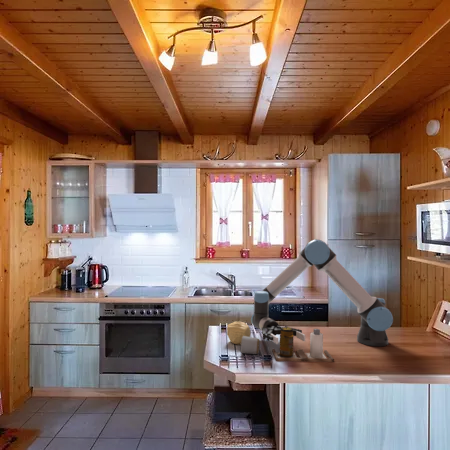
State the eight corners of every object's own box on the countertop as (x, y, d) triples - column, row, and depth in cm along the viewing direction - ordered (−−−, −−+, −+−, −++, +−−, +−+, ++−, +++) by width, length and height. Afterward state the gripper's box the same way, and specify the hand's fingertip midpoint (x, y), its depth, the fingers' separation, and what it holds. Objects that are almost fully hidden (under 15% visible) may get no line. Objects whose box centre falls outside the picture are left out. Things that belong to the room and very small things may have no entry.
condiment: (290, 352, 165) (291, 326, 165) (298, 358, 157) (298, 331, 157) (275, 353, 163) (276, 326, 163) (282, 359, 155) (282, 332, 155)
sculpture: (224, 344, 178) (224, 322, 178) (232, 337, 189) (233, 317, 190) (245, 347, 174) (246, 325, 174) (253, 340, 185) (253, 320, 185)
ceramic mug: (258, 356, 162) (258, 339, 162) (240, 355, 163) (240, 338, 164) (260, 349, 172) (260, 333, 172) (243, 348, 174) (243, 332, 174)
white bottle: (320, 354, 163) (321, 327, 163) (324, 358, 157) (324, 331, 157) (308, 353, 163) (309, 327, 163) (311, 358, 157) (311, 331, 157)
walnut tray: (326, 355, 165) (326, 349, 165) (334, 364, 153) (334, 359, 153) (272, 354, 166) (272, 348, 166) (275, 363, 154) (276, 358, 154)
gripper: (291, 332, 181) (315, 345, 161) (246, 336, 173) (265, 350, 153) (291, 317, 181) (315, 328, 161) (246, 321, 173) (265, 333, 153)
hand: (291, 339), depth 157 cm, fingers open, 13 cm apart
